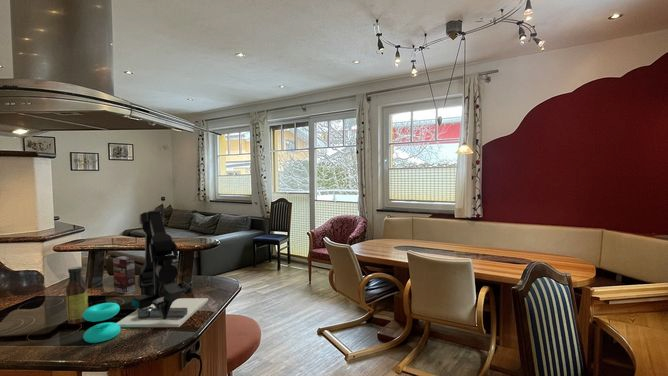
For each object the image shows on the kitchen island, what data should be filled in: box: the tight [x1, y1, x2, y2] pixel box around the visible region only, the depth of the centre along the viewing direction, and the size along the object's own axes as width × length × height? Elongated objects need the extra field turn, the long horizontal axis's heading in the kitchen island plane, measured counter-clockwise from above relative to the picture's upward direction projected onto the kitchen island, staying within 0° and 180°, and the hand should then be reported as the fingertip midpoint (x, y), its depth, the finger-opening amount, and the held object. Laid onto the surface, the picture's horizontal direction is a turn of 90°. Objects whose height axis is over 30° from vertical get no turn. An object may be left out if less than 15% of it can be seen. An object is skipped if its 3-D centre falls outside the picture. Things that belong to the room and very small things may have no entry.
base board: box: [116, 297, 209, 328], centre depth 127 cm, size 23×25×1 cm
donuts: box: [83, 302, 122, 344], centre depth 108 cm, size 10×10×10 cm
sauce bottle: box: [65, 266, 89, 325], centre depth 120 cm, size 7×6×20 cm
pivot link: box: [138, 307, 187, 319], centre depth 122 cm, size 18×5×4 cm, turn 89°
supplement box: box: [112, 256, 136, 295], centre depth 152 cm, size 9×5×16 cm, turn 69°
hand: (164, 319), depth 115 cm, fingers closed
